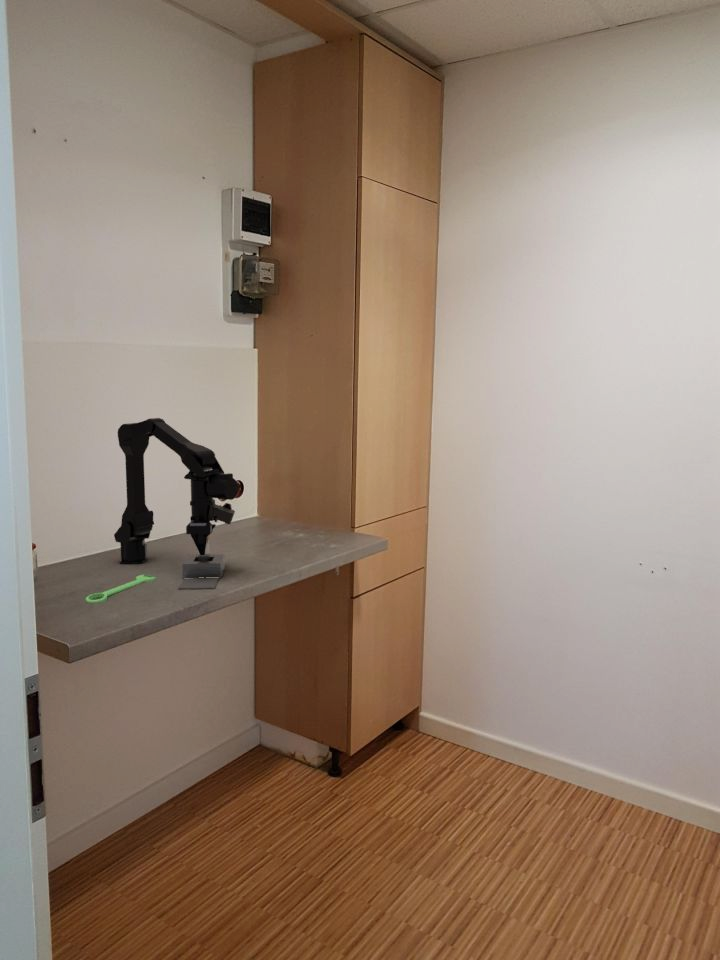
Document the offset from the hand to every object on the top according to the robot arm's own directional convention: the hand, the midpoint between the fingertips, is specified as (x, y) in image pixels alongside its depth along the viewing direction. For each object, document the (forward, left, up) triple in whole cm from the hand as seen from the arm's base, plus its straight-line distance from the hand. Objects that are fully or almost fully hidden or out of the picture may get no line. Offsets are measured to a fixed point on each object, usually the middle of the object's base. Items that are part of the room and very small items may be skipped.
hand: (203, 553), depth 215 cm
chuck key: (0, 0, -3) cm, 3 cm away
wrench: (-18, -14, -6) cm, 24 cm away
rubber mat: (0, -11, -6) cm, 12 cm away
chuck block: (0, 0, -6) cm, 6 cm away
